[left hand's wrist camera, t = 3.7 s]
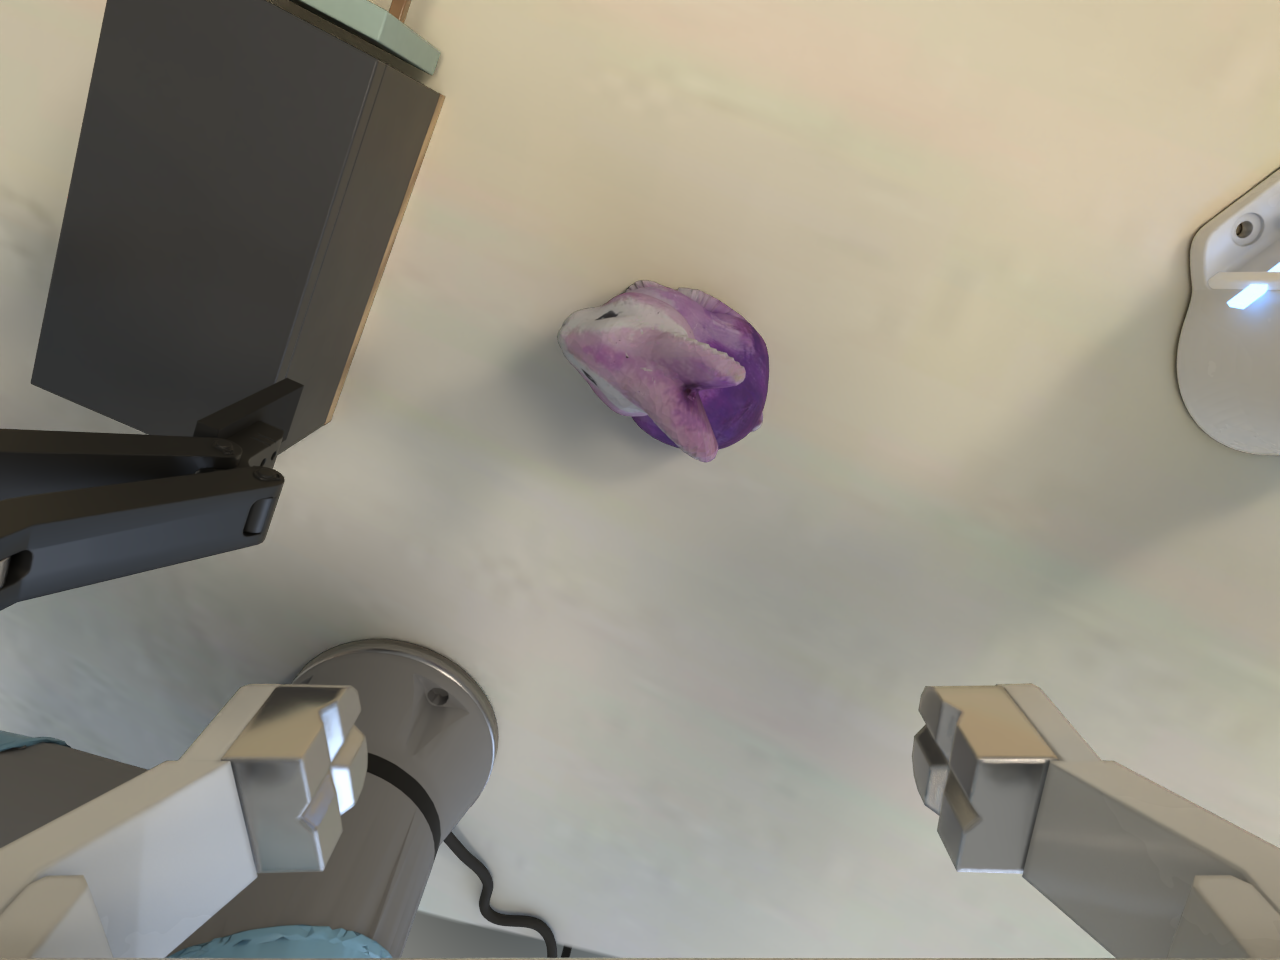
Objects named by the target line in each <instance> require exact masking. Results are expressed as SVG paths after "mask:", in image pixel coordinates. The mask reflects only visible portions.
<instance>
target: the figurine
mask: <svg viewBox="0 0 1280 960" xmlns="http://www.w3.org/2000/svg"><path fill="white" fill-rule="evenodd" d="M557 338H558V343H559V345H560V347H561V349H562V351H563V354H564V356H565V357H566V358H567V360H568V361H569V362H570V363H571V364H572V365H573V366H574V367H575V368H576V369H577V370H578V372H579V373H580V374H581V375H582V376H583V377H584V379H585V380H586V381H587V382H588V383H589V385H590V386H591V388H592V389H593V391H594V392H595V393H596V394H597V396H598V397H599V398H600V399H601V400H602V401H603V402H604V403H605V404H606V405H607V406H608V407H609V408H610V409H612V410H613V411H615V412H616V413H619V414H621V415H624V416H631V417H632V418H633V420H634V421H635V422H636V423H637V425H638V426H639V427H640V428H641V429H643V430H644V431H645V432H646V433H648V434H649V435H650V436H652V437H653V438H655V439H657V440H659V441H661V442H663V443H666V444H668V445H671V446H674V447H677V448H681V449H682V450H683V452H685V453H687V454H688V455H689V456H691V457H693V458H694V459H697V460H699V461H702V462H709V461H711V460H713V459H714V458H715V456H716V454H717V451H718V449H722V448H725V447H728V446H730V445H732V444H734V443H736V442H738V441H739V440H741V439H743V438H744V437H745V436H746V435H748V434H749V433H750V432H752V431H755V430H757V429H758V428H760V426H761V424H762V422H763V413H762V411H763V408H764V405H765V401H766V396H767V390H768V380H769V357H768V352H767V347H766V344H765V342H764V340H763V338H762V337H761V336H760V334H759V333H758V332H757V331H756V330H755V329H754V328H753V326H752V325H751V324H750V323H748V322H747V321H746V320H745V319H744V318H743V317H742V316H741V315H740V314H738V313H737V312H735V311H734V310H732V309H731V308H730V307H728V306H727V305H725V304H724V303H722V302H721V301H719V300H718V299H716V298H714V297H712V296H710V295H708V294H706V293H704V292H702V291H700V290H693V289H690V288H678V290H673V289H671V288H668V287H665V286H662V285H660V284H658V283H655V282H653V281H637V282H635V284H633V285H631V286H630V287H629V288H628V289H627V290H626V292H625V293H622V294H620V295H618V296H616V297H614V298H612V299H611V300H609V301H608V302H607V303H605V304H604V305H602V306H598V307H594V308H586V309H582V310H578V311H576V312H574V313H572V314H571V315H570V316H569V317H568V318H567V319H566V320H565V321H564V323H563V325H562V328H561V329H560V330H559V332H558V336H557Z"/></svg>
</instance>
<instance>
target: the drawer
mask: <svg viewBox="0 0 1280 960" xmlns="http://www.w3.org/2000/svg"><path fill="white" fill-rule="evenodd" d="M290 1H292V2H294V3H295V4H297V5H299V6H301V7H303V8H305V9H307V10H309V11H311V12H312V13H314V14H316V15H318V16H320V17H322V18H324V19H326V20H328V21H330V22H331V23H333V24H335V25H337V26H339V27H341V28H343V29H345V30H347V31H348V32H350V33H352V34H354V35H356V36H358V37H360V38H362V39H364V40H366V41H367V42H369V43H371V44H373V45H375V46H377V47H379V48H381V49H383V50H384V51H386V52H388V53H390V54H392V55H394V56H396V57H398V58H400V59H402V60H403V61H405V62H407V63H409V64H411V65H413V66H415V67H417V68H419V69H420V70H422V71H424V72H426V73H428V74H430V75H433V74H434V71H435V68H436V65H437V62H438V59H439V56H440V51H439V50H438V49H436V48H435V47H434V46H432V45H431V44H430V43H429V42H427V41H426V40H425V39H423V38H422V37H421V36H419V35H418V34H417V33H415V32H414V31H413V30H411V29H410V28H409V27H407V26H406V25H405V24H404V21H405V18H406V15H407V12H408V9H409V6H410V3H411V0H392V4H391V7H390V10H389V12H388V11H386V10H384V9H383V8H381V7H379V6H377V5H375V4H373V3H371V2H369V1H368V0H290Z"/></svg>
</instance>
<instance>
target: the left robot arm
mask: <svg viewBox="0 0 1280 960" xmlns="http://www.w3.org/2000/svg"><path fill="white" fill-rule="evenodd" d="M1240 223H1242V226H1243V228H1242V231H1241V233H1240V234H1239V235H1238V236H1237V235H1236V229H1237V227H1238V225H1239V224H1240ZM1190 271H1191V282H1192V296H1191V300H1190V304H1189V308H1188V311H1187V314H1186V317H1185V320H1184V324H1183V327H1182V330H1181V334H1180V338H1179V344H1178V351H1177V378H1178V384H1179V389H1180V393H1181V396H1182V399H1183V401H1184V404H1185V406H1186V408H1187V410H1188V412H1189V414H1190V415H1191V417H1192V418H1193V420H1194V421H1195V422H1196V423H1197V424H1198V426H1199V427H1200V428H1201V429H1202V430H1203V431H1204V432H1205V433H1207V434H1208V435H1209V436H1210V437H1212V438H1213V439H1215V440H1216V441H1218V442H1220V443H1221V444H1223V445H1225V446H1227V447H1230V448H1232V449H1235V450H1238V451H1242V452H1246V453H1251V454H1258V455H1280V169H1279V170H1277V171H1276V172H1275V173H1273V174H1272V175H1271V176H1269V177H1268V178H1267V179H1265V180H1264V181H1263V182H1261V183H1260V184H1259V185H1257V186H1256V187H1255V188H1253V189H1252V190H1251V191H1249V192H1248V193H1247V194H1245V195H1244V196H1243V197H1241V198H1240V199H1239V200H1237V201H1236V202H1235V203H1233V204H1232V205H1231V206H1229V207H1228V208H1227V209H1225V210H1224V211H1223V212H1221V213H1220V214H1219V215H1217V216H1216V217H1215V218H1213V219H1212V220H1211V221H1209V222H1208V223H1207V224H1205V225H1204V226H1203V227H1202V228H1201V229H1200V230H1199V231H1198V232H1197V233H1196V235H1195V237H1194V239H1193V241H1192V244H1191V249H1190ZM360 712H361V705H360V700H359V695H358V691H357V690H356V689H355V688H354V687H353V686H352V685H308V684H283V685H281V684H248V685H246V686H243V687H240V688H239V689H238V691H237V692H236V693H235V694H234V695H233V697H232V698H231V699H230V700H229V701H228V702H227V704H226V705H225V706H224V707H223V708H222V709H221V711H220V712H219V713H218V714H217V715H216V717H215V718H214V719H213V720H212V721H211V722H210V724H209V725H208V726H207V727H206V728H205V729H204V731H203V732H202V733H201V734H200V735H199V737H198V738H197V739H196V740H195V741H194V742H193V744H192V745H191V746H190V747H189V748H188V749H187V751H186V752H185V753H184V754H183V755H182V756H181V758H180V759H179V760H178V761H165V762H163V763H161V764H159V765H158V766H156V767H154V768H152V769H150V770H148V771H146V772H144V773H142V774H140V775H139V776H137V777H135V778H133V779H131V780H129V781H127V782H125V783H123V784H121V785H120V786H118V787H116V788H114V789H112V790H110V791H108V792H106V793H104V794H102V795H101V796H99V797H97V798H95V799H93V800H91V801H89V802H87V803H85V804H83V805H82V806H80V807H78V808H76V809H74V810H72V811H70V812H68V813H66V814H64V815H63V816H61V817H59V818H57V819H55V820H53V821H51V822H49V823H47V824H45V825H44V826H42V827H40V828H38V829H36V830H34V831H32V832H30V833H28V834H26V835H25V836H23V837H21V838H19V839H17V840H15V841H13V842H11V843H9V844H7V845H6V846H4V847H2V848H0V960H1280V848H1278V847H1276V846H1274V845H1272V844H1270V843H1268V842H1266V841H1264V840H1263V839H1261V838H1259V837H1257V836H1255V835H1253V834H1251V833H1249V832H1247V831H1246V830H1244V829H1242V828H1240V827H1238V826H1236V825H1234V824H1232V823H1230V822H1228V821H1227V820H1225V819H1223V818H1221V817H1219V816H1217V815H1215V814H1213V813H1211V812H1210V811H1208V810H1206V809H1204V808H1202V807H1200V806H1198V805H1196V804H1194V803H1193V802H1191V801H1189V800H1187V799H1185V798H1183V797H1181V796H1179V795H1177V794H1175V793H1174V792H1172V791H1170V790H1168V789H1166V788H1164V787H1162V786H1160V785H1158V784H1157V783H1155V782H1153V781H1151V780H1149V779H1147V778H1145V777H1143V776H1141V775H1139V774H1138V773H1136V772H1134V771H1132V770H1130V769H1128V768H1126V767H1124V766H1122V765H1121V764H1119V763H1117V762H1115V761H1102V760H1101V759H1100V758H1099V757H1098V755H1097V754H1096V753H1095V752H1094V751H1093V749H1092V748H1091V747H1090V746H1089V745H1088V744H1087V742H1086V741H1085V740H1084V739H1083V738H1082V737H1081V735H1080V734H1079V733H1078V732H1077V731H1076V730H1075V728H1074V727H1073V726H1072V725H1071V724H1070V722H1069V721H1068V720H1067V719H1066V718H1065V717H1064V715H1063V714H1062V713H1061V712H1060V711H1059V710H1058V708H1057V707H1056V706H1055V705H1054V704H1053V703H1052V701H1051V700H1050V699H1049V698H1048V697H1047V695H1046V694H1045V693H1044V692H1043V691H1042V690H1041V688H1039V687H1037V686H1035V685H1033V684H1031V683H1029V684H996V685H995V686H925V688H924V690H923V692H922V694H921V698H920V704H919V712H920V714H921V716H922V718H923V720H924V721H925V723H926V725H925V726H924V727H923V728H922V729H921V730H920V731H919V732H918V733H917V734H916V735H915V736H914V743H913V751H912V762H913V773H914V778H915V782H916V785H917V789H918V792H919V794H920V796H921V798H922V800H923V802H924V805H925V806H927V807H928V808H930V809H931V810H932V811H934V812H935V813H936V814H938V815H939V822H938V828H937V832H938V834H939V836H940V838H941V840H942V842H943V844H944V846H945V848H946V850H947V852H948V854H949V856H950V858H951V860H952V862H953V864H954V866H955V868H956V871H957V872H992V873H1023V875H1022V877H1023V878H1024V879H1026V880H1027V881H1028V882H1029V883H1030V884H1031V885H1033V886H1034V887H1035V888H1036V889H1037V890H1038V891H1039V892H1041V893H1042V894H1043V895H1044V896H1045V897H1046V898H1048V899H1049V900H1050V901H1051V902H1052V903H1053V904H1054V905H1056V906H1057V907H1058V908H1059V909H1060V910H1061V911H1062V912H1064V913H1065V914H1066V915H1067V916H1068V917H1069V918H1071V919H1072V920H1073V921H1074V922H1075V923H1076V924H1077V925H1079V926H1080V927H1081V928H1082V929H1083V930H1084V931H1086V932H1087V933H1088V934H1089V935H1090V936H1091V937H1092V938H1094V939H1095V940H1096V941H1097V942H1098V943H1099V944H1100V945H1102V946H1103V947H1104V948H1105V949H1106V950H1107V951H1109V952H1110V953H1111V954H1112V955H1113V956H1114V957H1115V958H165V957H166V956H167V955H168V954H169V953H170V952H172V951H173V950H174V949H175V948H176V947H177V946H179V945H180V944H181V943H182V942H183V941H184V940H185V939H187V938H188V937H189V936H190V935H191V934H192V933H194V932H195V931H196V930H197V929H198V928H199V927H200V926H202V925H203V924H204V923H205V922H206V921H207V920H209V919H210V918H211V917H212V916H213V915H214V914H215V913H217V912H218V911H219V910H220V909H221V908H222V907H224V906H225V905H226V904H227V903H228V902H229V901H231V900H232V899H233V898H234V897H235V896H236V895H237V894H239V893H240V892H241V891H242V890H243V889H244V888H246V887H247V886H248V885H249V884H250V883H251V882H252V881H254V880H255V879H256V878H257V876H258V875H257V873H287V872H321V871H324V869H325V867H326V865H327V862H328V860H329V858H330V856H331V854H332V852H333V850H334V848H335V846H336V844H337V842H338V840H339V838H340V836H341V834H342V832H343V828H342V822H341V815H342V814H344V813H345V812H346V811H348V810H349V809H350V808H352V807H353V806H355V805H356V802H357V800H358V798H359V796H360V794H361V791H362V789H363V785H364V781H365V776H366V772H367V765H368V749H367V742H366V736H365V735H364V734H363V733H362V732H361V731H360V730H359V729H358V728H357V727H356V726H355V725H354V723H355V721H356V720H357V718H358V716H359V714H360Z"/></svg>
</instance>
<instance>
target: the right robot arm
mask: <svg viewBox="0 0 1280 960" xmlns="http://www.w3.org/2000/svg"><path fill="white" fill-rule="evenodd" d="M303 387H304V385H302V384H300V383H298V382H296V381H293V380H291V379H289V378H285V379H283V380H281V381H279V382H277V383H275V384H273V385H271V386H269V387H267V388H265V389H263V390H260V391H258V392H256V393H254V394H252V395H250V396H248V397H246V398H244V399H242V400H240V401H238V402H235V403H233V404H231V405H229V406H227V407H225V408H223V409H221V410H219V411H217V412H215V413H213V414H211V415H208V416H206V417H204V418H202V419H200V420H198V421H197V424H196V427H195V431H194V434H193V437H187V436H163V435H138V434H114V433H90V432H65V431H41V430H17V429H0V611H1V610H3V609H5V608H7V607H9V606H11V605H13V604H14V603H16V602H20V601H24V600H28V599H32V598H36V597H41V596H45V595H49V594H53V593H57V592H61V591H66V590H70V589H74V588H78V587H82V586H86V585H91V584H95V583H99V582H103V581H107V580H112V579H116V578H120V577H124V576H128V575H132V574H137V573H141V572H145V571H149V570H153V569H157V568H162V567H166V566H170V565H174V564H178V563H183V562H187V561H191V560H195V559H199V558H203V557H208V556H212V555H216V554H220V553H224V552H228V551H233V550H237V549H241V548H245V547H249V546H254V545H258V544H260V543H262V542H263V541H264V540H265V538H266V535H267V532H268V529H269V526H270V523H271V520H272V517H273V514H274V511H275V508H276V505H277V502H278V499H279V496H280V493H281V490H282V487H283V484H284V477H283V476H282V474H281V473H279V472H277V471H276V470H274V469H272V468H273V466H274V463H275V460H276V457H277V454H278V451H279V448H280V445H281V443H282V442H283V441H285V440H286V439H287V436H288V433H289V430H290V427H291V424H292V421H293V418H294V415H295V412H296V409H297V406H298V403H299V400H300V397H301V393H302V390H303ZM291 684H308V685H352V686H353V687H354V688H355V689H356V690H357V691H358V695H359V700H360V705H361V712H360V714H359V716H358V718H357V720H356V721H355V723H354V725H355V726H356V727H357V728H358V729H359V730H360V731H361V732H362V733H363V734H364V735H365V736H366V742H367V749H368V765H367V772H366V776H365V781H364V785H363V789H362V791H361V794H360V796H359V798H358V800H357V802H356V805H355V806H353V807H352V808H350V809H349V810H348V811H346V812H345V813H344V814H342V815H341V822H342V828H343V832H342V834H341V836H340V838H339V840H338V842H337V844H336V846H335V848H334V850H333V852H332V854H331V856H330V858H329V860H328V862H327V865H326V867H325V869H324V871H321V872H287V873H257V875H258V876H257V878H256V879H255V880H254V881H252V882H251V883H250V884H249V885H248V886H247V887H246V888H244V889H243V890H242V891H241V892H240V893H239V894H237V895H236V896H235V897H234V898H233V899H232V900H231V901H229V902H228V903H227V904H226V905H225V906H224V907H222V908H221V909H220V910H219V911H218V912H217V913H215V914H214V915H213V916H212V917H211V918H210V919H209V920H207V921H206V922H205V923H204V924H203V925H202V926H200V927H199V928H198V929H197V930H196V931H195V932H194V933H192V934H191V935H190V936H189V937H188V938H187V939H185V940H184V941H183V942H182V943H181V944H180V945H179V946H177V947H176V948H175V949H174V950H173V951H172V952H170V953H169V954H168V955H167V956H166V957H165V958H401V955H402V952H403V949H404V947H405V944H406V941H407V938H408V935H409V932H410V929H411V927H412V924H413V921H414V918H415V915H416V912H417V909H418V907H419V904H420V901H421V898H422V895H423V892H424V889H425V886H426V884H427V881H428V878H429V875H430V872H431V869H432V866H433V863H434V860H435V857H436V854H437V851H438V848H439V845H440V844H441V843H442V842H443V841H444V842H445V843H446V844H447V845H448V847H449V848H450V849H451V850H452V851H453V852H454V853H455V855H456V856H457V857H458V858H459V859H460V860H461V861H462V862H463V863H464V864H466V865H467V866H468V867H469V868H470V869H472V870H473V871H474V872H475V873H476V874H477V875H478V877H479V878H480V880H481V881H482V884H483V890H482V893H481V896H480V900H479V907H480V912H481V914H482V915H483V916H484V918H486V919H487V920H488V921H490V922H492V923H494V924H497V925H502V926H513V927H526V928H531V929H534V930H536V931H537V932H539V933H540V934H541V935H542V937H543V938H544V940H545V942H546V946H547V958H557V948H556V942H555V939H554V935H553V933H552V931H551V930H550V928H549V927H548V926H547V925H546V924H545V923H544V922H543V921H541V920H539V919H537V918H534V917H530V916H520V915H505V914H500V913H497V912H495V911H494V910H492V909H491V907H490V906H489V901H490V897H491V894H492V891H493V881H492V877H491V875H490V873H489V871H488V870H487V868H486V867H485V866H484V865H483V864H482V863H481V862H480V861H479V860H478V859H476V858H475V857H474V856H473V855H472V854H471V853H470V852H469V851H468V850H467V849H466V848H465V847H464V846H463V845H462V844H461V842H460V841H459V840H458V839H457V838H456V837H455V835H454V834H453V833H452V832H451V831H452V830H453V828H454V827H455V826H456V825H457V823H458V822H459V821H460V819H461V818H462V817H463V816H464V814H465V813H466V812H467V810H468V809H469V808H470V807H471V806H472V805H473V804H474V803H475V801H476V800H477V799H478V797H479V796H480V794H481V792H482V791H483V789H484V787H485V786H486V784H487V782H488V779H489V777H490V774H491V771H492V767H493V764H494V760H495V757H496V753H497V748H498V728H497V723H496V718H495V715H494V712H493V709H492V707H491V705H490V703H489V701H488V699H487V697H486V696H485V694H484V693H483V691H482V690H481V688H480V687H479V686H478V685H477V683H476V682H475V681H474V680H473V679H472V678H471V677H470V676H469V675H468V674H467V673H466V672H465V671H464V670H462V669H461V668H460V667H459V666H457V665H456V664H455V663H453V662H452V661H450V660H449V659H447V658H445V657H443V656H442V655H440V654H438V653H436V652H433V651H431V650H429V649H426V648H424V647H421V646H418V645H414V644H411V643H407V642H402V641H396V640H386V639H370V640H360V641H354V642H350V643H346V644H342V645H339V646H337V647H334V648H332V649H330V650H327V651H325V652H324V653H322V654H320V655H319V656H317V657H316V658H314V659H313V660H312V661H311V662H309V663H308V664H307V665H306V666H305V667H304V668H303V669H302V670H301V672H300V673H299V674H298V675H297V677H296V678H295V679H294V681H293V682H292V683H291ZM146 771H148V770H147V769H143V768H140V767H136V766H132V765H128V764H125V763H121V762H118V761H114V760H111V759H107V758H104V757H101V756H97V755H94V754H90V753H87V752H83V751H80V750H76V749H73V748H71V747H70V746H68V745H67V744H66V743H65V742H64V741H62V740H59V739H55V738H51V737H37V738H32V737H28V736H23V735H19V734H14V733H10V732H5V731H0V848H2V847H4V846H6V845H7V844H9V843H11V842H13V841H15V840H17V839H19V838H21V837H23V836H25V835H26V834H28V833H30V832H32V831H34V830H36V829H38V828H40V827H42V826H44V825H45V824H47V823H49V822H51V821H53V820H55V819H57V818H59V817H61V816H63V815H64V814H66V813H68V812H70V811H72V810H74V809H76V808H78V807H80V806H82V805H83V804H85V803H87V802H89V801H91V800H93V799H95V798H97V797H99V796H101V795H102V794H104V793H106V792H108V791H110V790H112V789H114V788H116V787H118V786H120V785H121V784H123V783H125V782H127V781H129V780H131V779H133V778H135V777H137V776H139V775H140V774H142V773H144V772H146ZM571 949H572V947H571V946H566V945H564V947H563V951H562V954H561V958H570V954H571Z"/></svg>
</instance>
